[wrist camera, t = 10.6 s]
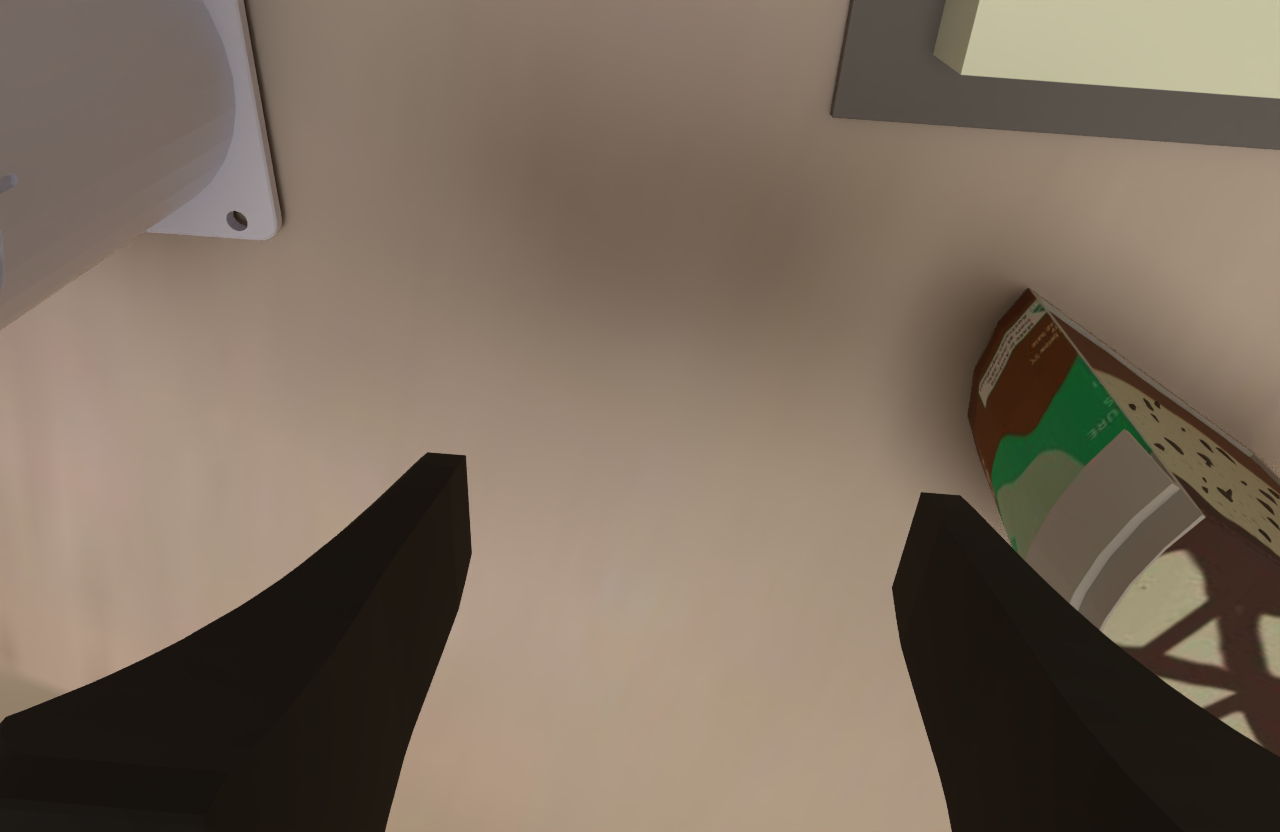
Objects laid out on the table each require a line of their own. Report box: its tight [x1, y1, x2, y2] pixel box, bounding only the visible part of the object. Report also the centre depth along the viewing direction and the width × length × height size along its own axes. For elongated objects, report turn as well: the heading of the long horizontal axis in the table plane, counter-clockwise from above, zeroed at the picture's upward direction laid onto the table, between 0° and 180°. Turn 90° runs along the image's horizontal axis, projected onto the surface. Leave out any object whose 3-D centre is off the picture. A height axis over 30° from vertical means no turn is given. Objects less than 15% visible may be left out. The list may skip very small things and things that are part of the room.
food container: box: [968, 288, 1280, 757], centre depth 21 cm, size 12×6×10 cm, turn 57°
